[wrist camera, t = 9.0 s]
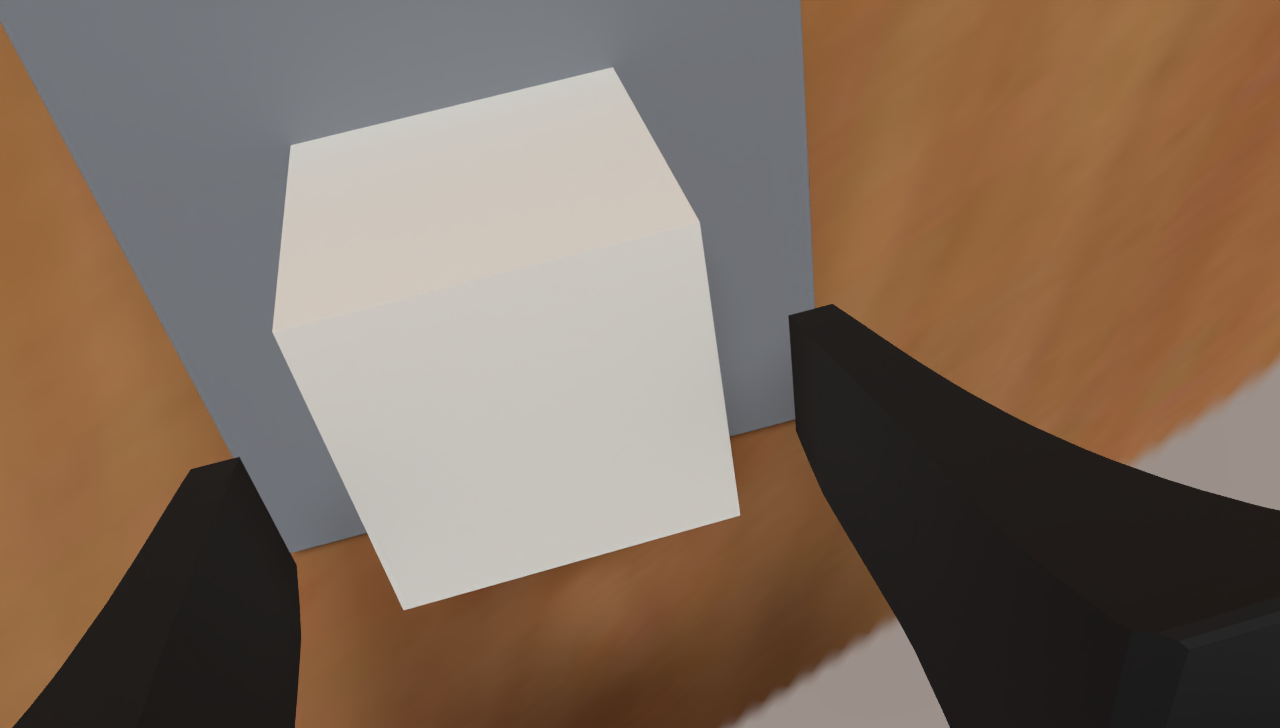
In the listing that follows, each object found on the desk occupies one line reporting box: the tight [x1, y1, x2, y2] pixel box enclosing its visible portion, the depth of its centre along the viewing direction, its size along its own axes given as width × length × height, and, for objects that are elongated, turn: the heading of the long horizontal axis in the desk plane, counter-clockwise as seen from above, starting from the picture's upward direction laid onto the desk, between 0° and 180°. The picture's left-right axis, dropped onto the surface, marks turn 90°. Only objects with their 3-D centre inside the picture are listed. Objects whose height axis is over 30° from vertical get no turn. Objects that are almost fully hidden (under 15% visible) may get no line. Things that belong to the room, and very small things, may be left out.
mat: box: [0, 0, 815, 553], centre depth 18 cm, size 11×11×1 cm
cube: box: [272, 67, 740, 610], centre depth 15 cm, size 5×5×5 cm
